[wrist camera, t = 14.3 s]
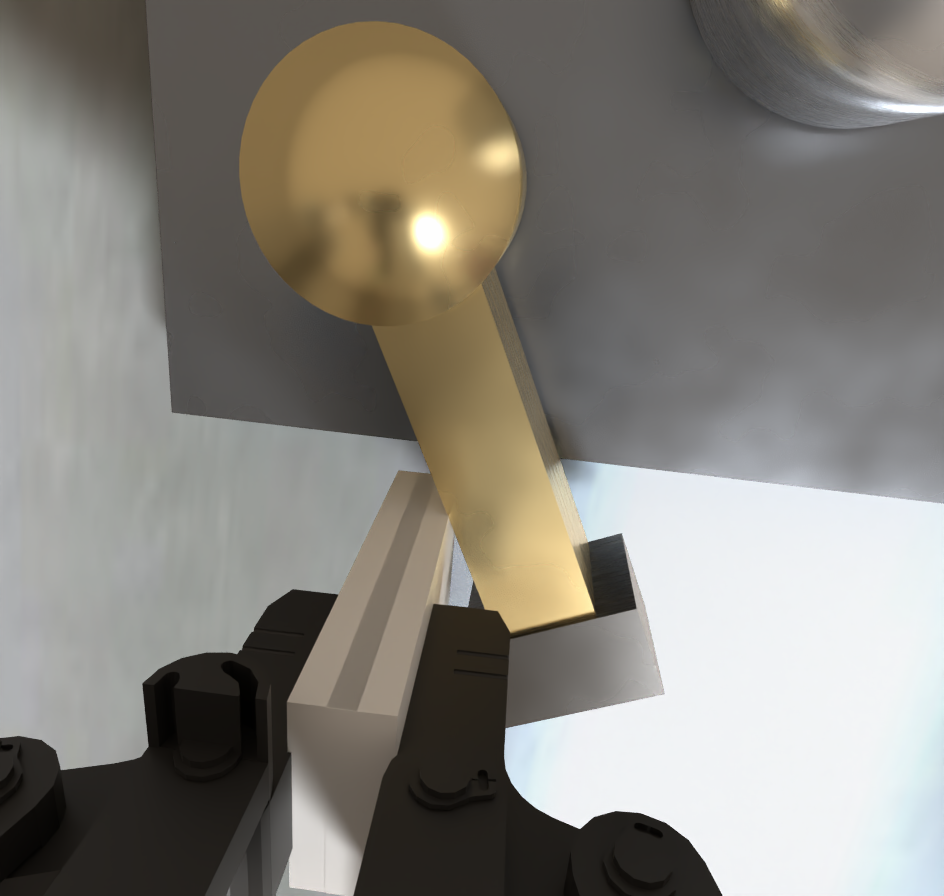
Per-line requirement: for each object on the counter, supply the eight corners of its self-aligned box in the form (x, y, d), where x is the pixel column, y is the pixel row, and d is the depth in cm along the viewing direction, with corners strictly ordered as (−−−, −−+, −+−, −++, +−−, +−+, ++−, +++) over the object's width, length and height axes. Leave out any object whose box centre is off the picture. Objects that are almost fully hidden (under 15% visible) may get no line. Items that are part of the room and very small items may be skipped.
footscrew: (270, 111, 13) (190, 91, 10) (482, 19, 12) (461, -32, 9) (485, 642, 16) (472, 738, 13) (662, 599, 15) (688, 692, 12)
